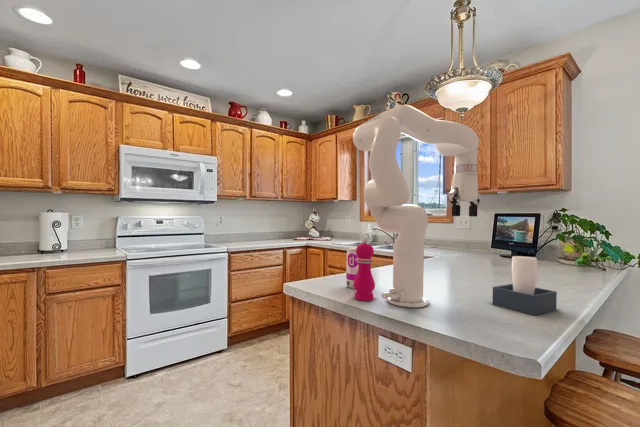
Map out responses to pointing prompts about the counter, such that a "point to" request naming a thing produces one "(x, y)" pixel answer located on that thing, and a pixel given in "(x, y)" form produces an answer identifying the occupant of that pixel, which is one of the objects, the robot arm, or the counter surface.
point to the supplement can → (351, 266)
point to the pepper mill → (364, 272)
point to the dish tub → (525, 300)
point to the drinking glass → (524, 274)
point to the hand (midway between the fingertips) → (464, 216)
